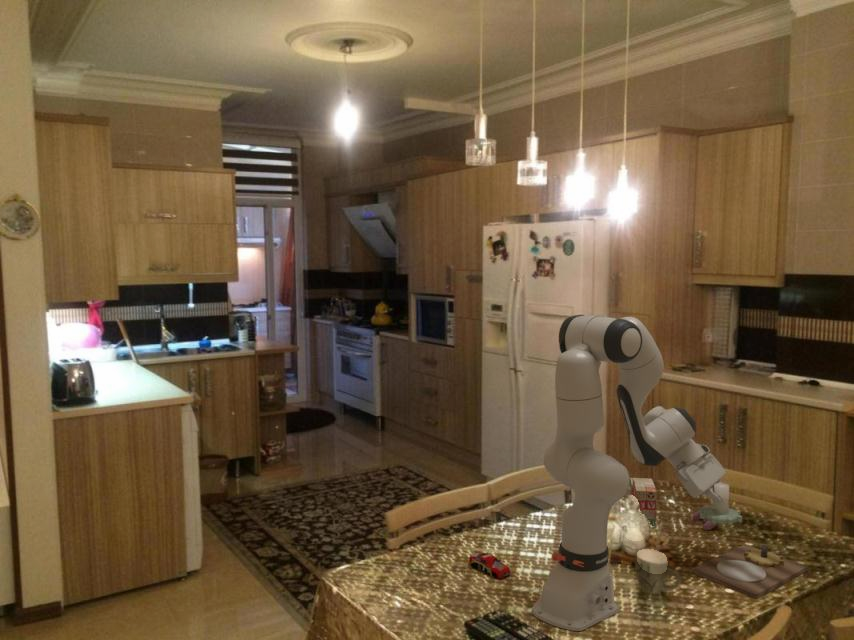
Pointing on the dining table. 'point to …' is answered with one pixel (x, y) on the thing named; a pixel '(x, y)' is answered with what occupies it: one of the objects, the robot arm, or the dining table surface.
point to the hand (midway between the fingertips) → (723, 500)
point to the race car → (489, 565)
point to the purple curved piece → (708, 524)
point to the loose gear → (721, 508)
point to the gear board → (750, 570)
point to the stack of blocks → (645, 497)
